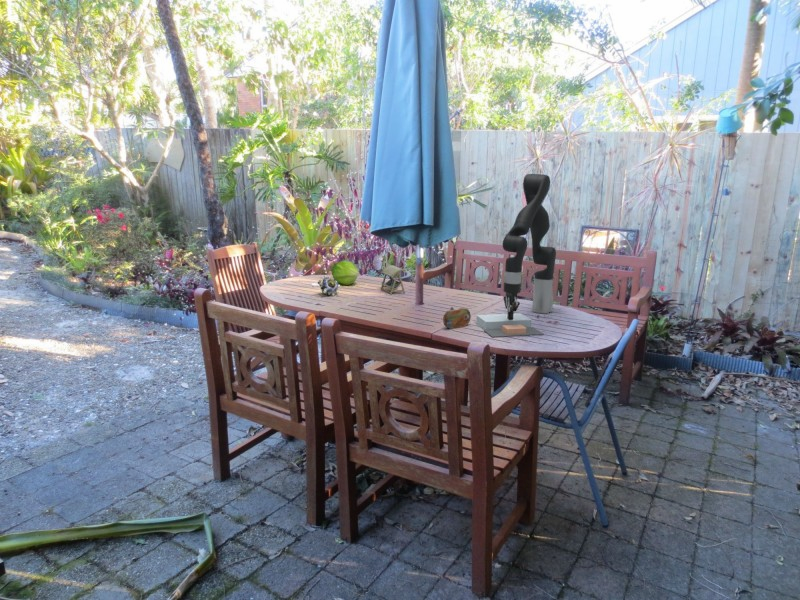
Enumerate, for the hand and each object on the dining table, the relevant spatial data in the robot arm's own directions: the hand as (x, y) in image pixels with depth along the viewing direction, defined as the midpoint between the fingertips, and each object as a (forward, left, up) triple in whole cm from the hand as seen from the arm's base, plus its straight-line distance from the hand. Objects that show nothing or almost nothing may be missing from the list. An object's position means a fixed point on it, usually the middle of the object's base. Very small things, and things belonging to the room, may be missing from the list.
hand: (510, 319), depth 241 cm
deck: (0, -7, -5) cm, 9 cm away
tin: (+22, -9, -5) cm, 24 cm away
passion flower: (+74, -84, -5) cm, 112 cm away
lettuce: (+61, -112, -5) cm, 128 cm away
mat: (0, +4, -5) cm, 7 cm away
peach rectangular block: (0, +5, -2) cm, 5 cm away
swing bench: (+36, -86, -5) cm, 94 cm away
